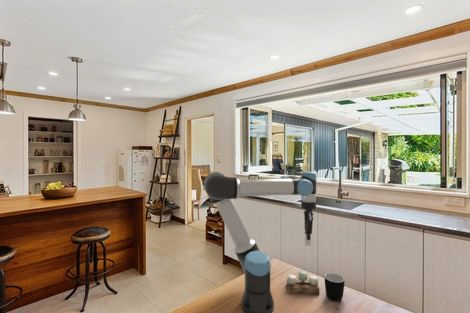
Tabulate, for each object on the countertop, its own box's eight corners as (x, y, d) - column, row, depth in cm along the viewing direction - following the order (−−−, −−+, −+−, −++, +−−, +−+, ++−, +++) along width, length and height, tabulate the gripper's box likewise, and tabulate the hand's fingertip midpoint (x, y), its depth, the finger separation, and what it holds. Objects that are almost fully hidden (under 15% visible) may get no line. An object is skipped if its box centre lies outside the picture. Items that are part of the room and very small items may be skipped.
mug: (346, 304, 116) (347, 283, 116) (326, 302, 118) (327, 281, 117) (339, 290, 128) (339, 270, 128) (321, 288, 129) (321, 269, 129)
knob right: (310, 290, 126) (310, 279, 126) (308, 285, 131) (308, 275, 131) (318, 290, 126) (318, 280, 126) (316, 285, 131) (316, 275, 130)
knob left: (288, 289, 127) (288, 278, 127) (286, 284, 132) (286, 274, 131) (296, 289, 127) (296, 279, 127) (295, 284, 131) (295, 274, 131)
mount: (288, 293, 125) (289, 287, 125) (286, 284, 133) (286, 278, 133) (319, 294, 124) (319, 288, 124) (315, 285, 132) (315, 280, 132)
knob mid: (299, 285, 127) (299, 274, 127) (297, 280, 131) (297, 270, 131) (307, 285, 126) (307, 274, 126) (306, 280, 131) (306, 270, 131)
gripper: (318, 203, 125) (317, 250, 126) (313, 198, 138) (312, 241, 138) (303, 203, 126) (302, 249, 126) (299, 198, 139) (299, 240, 139)
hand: (307, 245), depth 132 cm, fingers closed
